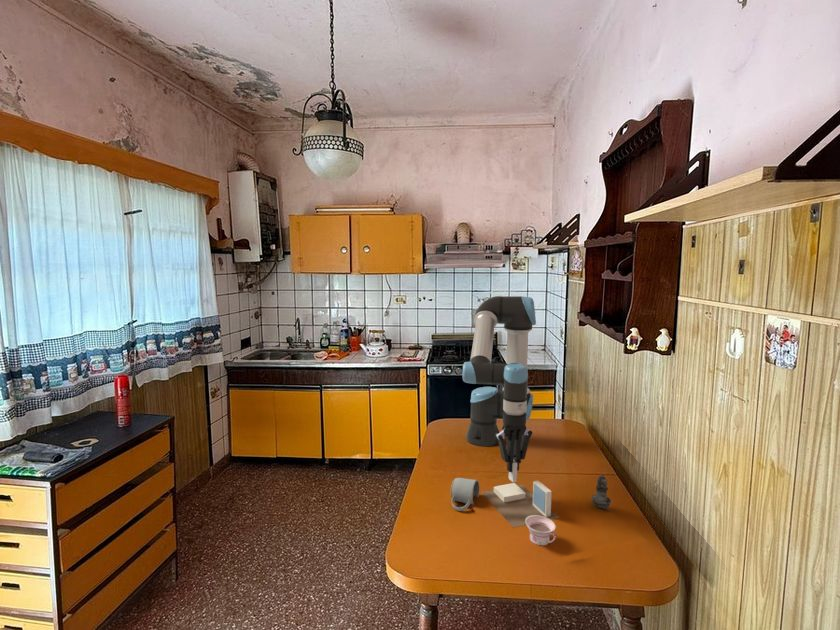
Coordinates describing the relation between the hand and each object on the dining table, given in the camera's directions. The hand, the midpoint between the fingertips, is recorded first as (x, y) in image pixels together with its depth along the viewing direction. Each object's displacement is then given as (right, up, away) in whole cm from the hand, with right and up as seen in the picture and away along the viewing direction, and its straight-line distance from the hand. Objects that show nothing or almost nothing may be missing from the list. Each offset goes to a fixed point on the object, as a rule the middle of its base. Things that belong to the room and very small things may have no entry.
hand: (512, 480), depth 144 cm
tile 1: (+3, -4, +1) cm, 5 cm away
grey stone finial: (+27, -7, -6) cm, 29 cm away
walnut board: (+1, -7, -5) cm, 9 cm away
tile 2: (+7, -6, -8) cm, 13 cm away
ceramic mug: (-16, -7, -2) cm, 18 cm away
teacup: (+3, -10, -22) cm, 25 cm away
